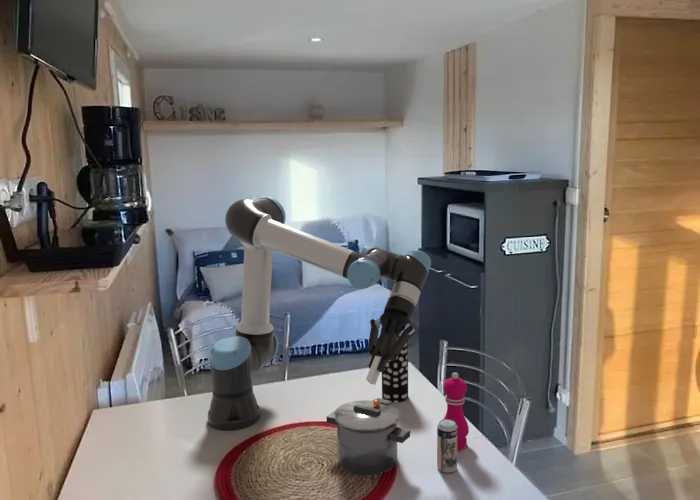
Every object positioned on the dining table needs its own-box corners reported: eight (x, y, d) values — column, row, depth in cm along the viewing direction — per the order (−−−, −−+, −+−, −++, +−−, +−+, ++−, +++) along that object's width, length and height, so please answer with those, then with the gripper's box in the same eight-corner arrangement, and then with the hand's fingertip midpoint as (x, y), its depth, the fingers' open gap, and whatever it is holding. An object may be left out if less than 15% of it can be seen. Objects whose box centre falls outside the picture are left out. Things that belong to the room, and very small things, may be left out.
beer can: (444, 476, 138) (444, 429, 136) (433, 466, 142) (433, 420, 140) (460, 471, 140) (461, 424, 138) (449, 462, 144) (450, 416, 142)
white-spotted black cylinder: (409, 402, 179) (409, 340, 176) (382, 402, 179) (381, 341, 176) (407, 391, 187) (406, 332, 184) (381, 392, 187) (380, 332, 184)
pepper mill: (468, 452, 148) (469, 378, 145) (440, 450, 150) (440, 377, 146) (468, 439, 155) (469, 368, 152) (441, 437, 157) (441, 367, 153)
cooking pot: (315, 461, 146) (313, 420, 144) (347, 436, 158) (346, 398, 156) (391, 486, 134) (391, 442, 132) (420, 457, 146) (419, 416, 145)
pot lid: (322, 421, 142) (322, 410, 141) (358, 399, 156) (358, 389, 156) (378, 437, 133) (378, 425, 133) (411, 412, 147) (411, 401, 147)
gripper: (428, 312, 154) (398, 393, 143) (386, 306, 161) (354, 383, 150) (419, 297, 149) (387, 380, 138) (376, 292, 156) (342, 370, 145)
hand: (370, 381), depth 144 cm, fingers closed
